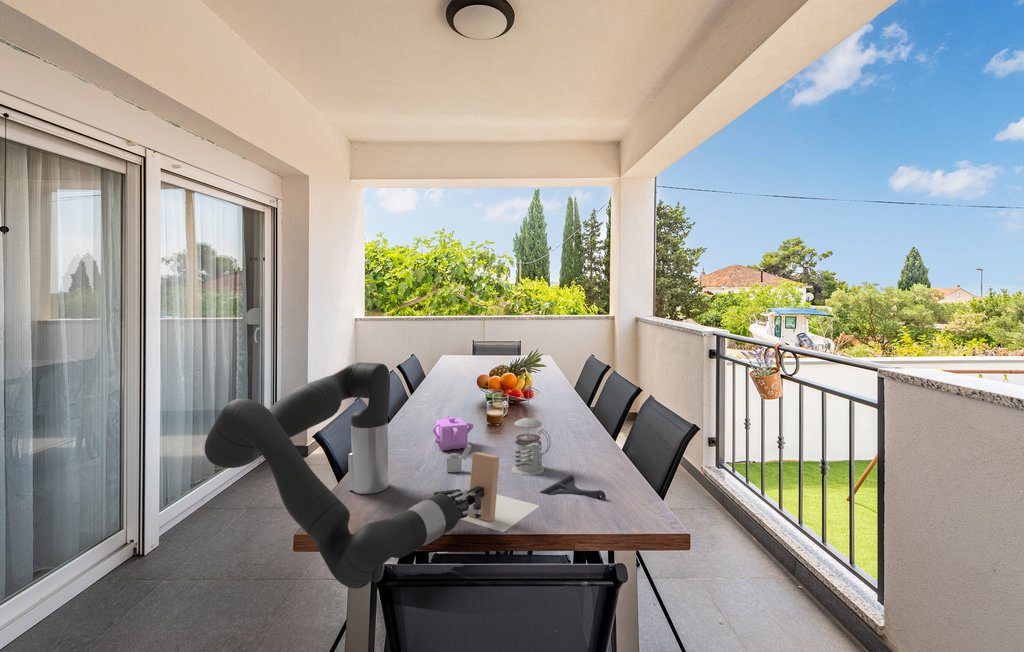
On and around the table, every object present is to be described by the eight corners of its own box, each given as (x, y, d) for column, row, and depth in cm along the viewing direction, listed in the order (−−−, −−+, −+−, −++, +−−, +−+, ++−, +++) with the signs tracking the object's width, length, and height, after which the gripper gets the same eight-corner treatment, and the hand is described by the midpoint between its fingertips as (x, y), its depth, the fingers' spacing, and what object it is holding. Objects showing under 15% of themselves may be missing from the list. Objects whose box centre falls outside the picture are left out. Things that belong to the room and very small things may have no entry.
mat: (445, 516, 113) (445, 514, 113) (485, 493, 127) (485, 491, 127) (503, 535, 105) (503, 532, 105) (540, 508, 118) (540, 505, 118)
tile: (468, 515, 112) (472, 453, 113) (473, 513, 114) (478, 451, 115) (489, 521, 109) (494, 457, 110) (495, 519, 111) (499, 456, 112)
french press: (520, 462, 152) (520, 381, 150) (555, 467, 147) (556, 384, 145) (505, 472, 143) (505, 386, 141) (542, 478, 138) (543, 390, 136)
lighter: (446, 472, 142) (446, 445, 142) (447, 470, 144) (447, 443, 144) (471, 472, 142) (471, 445, 142) (471, 470, 144) (471, 443, 144)
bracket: (590, 512, 118) (590, 501, 117) (539, 496, 127) (539, 486, 127) (617, 494, 129) (617, 483, 129) (568, 481, 138) (569, 471, 138)
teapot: (428, 441, 174) (428, 412, 174) (466, 437, 179) (466, 409, 178) (437, 456, 157) (437, 425, 157) (479, 452, 161) (479, 421, 161)
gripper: (404, 529, 100) (458, 500, 115) (455, 547, 93) (505, 514, 108) (404, 493, 100) (458, 468, 114) (455, 509, 93) (506, 480, 107)
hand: (481, 490), depth 111 cm, fingers closed
